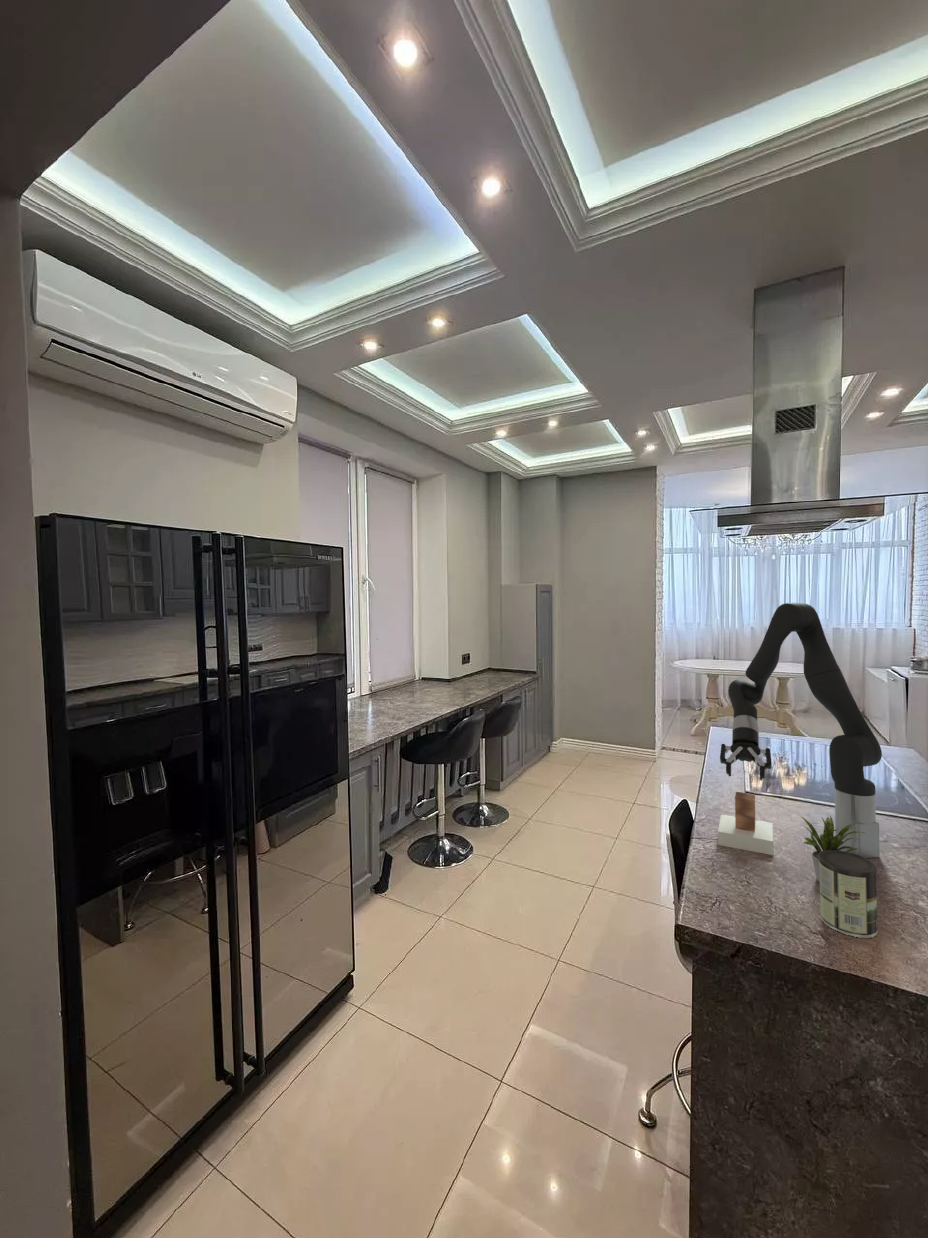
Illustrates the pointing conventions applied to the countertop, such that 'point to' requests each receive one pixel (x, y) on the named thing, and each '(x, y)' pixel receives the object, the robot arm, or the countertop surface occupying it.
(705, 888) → the countertop surface
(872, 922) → the coffee can
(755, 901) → the countertop surface
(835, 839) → the house plant
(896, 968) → the countertop surface
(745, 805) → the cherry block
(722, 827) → the cream base
